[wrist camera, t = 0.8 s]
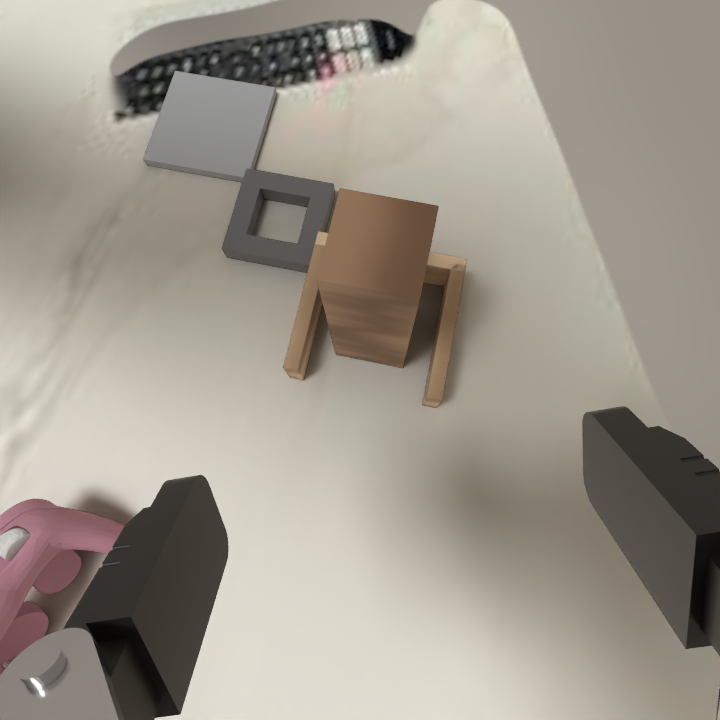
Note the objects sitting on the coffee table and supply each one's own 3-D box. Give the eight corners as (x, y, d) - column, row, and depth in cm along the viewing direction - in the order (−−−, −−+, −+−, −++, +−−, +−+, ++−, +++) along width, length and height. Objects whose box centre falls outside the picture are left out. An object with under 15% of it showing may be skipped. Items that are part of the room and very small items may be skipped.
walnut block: (335, 354, 30) (316, 279, 19) (350, 292, 31) (339, 188, 20) (402, 368, 30) (420, 299, 19) (415, 304, 31) (438, 206, 20)
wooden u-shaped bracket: (290, 377, 30) (282, 367, 27) (322, 251, 32) (318, 231, 29) (435, 407, 29) (441, 400, 27) (459, 276, 31) (467, 258, 29)
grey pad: (146, 164, 34) (142, 159, 33) (178, 77, 35) (175, 70, 35) (249, 183, 33) (247, 178, 32) (276, 94, 35) (275, 87, 34)
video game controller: (112, 503, 30) (-10, 478, 24) (158, 537, 27) (34, 518, 22) (17, 676, 28) (-141, 693, 22) (58, 730, 25) (-109, 765, 20)
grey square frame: (227, 257, 32) (221, 248, 31) (250, 179, 33) (246, 168, 32) (314, 274, 31) (312, 265, 30) (335, 194, 33) (333, 183, 32)
